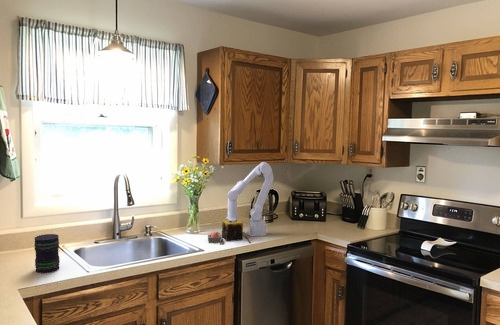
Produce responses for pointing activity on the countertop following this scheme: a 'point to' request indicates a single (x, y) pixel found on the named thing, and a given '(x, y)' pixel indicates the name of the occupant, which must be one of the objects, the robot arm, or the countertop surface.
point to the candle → (232, 230)
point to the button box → (214, 239)
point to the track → (223, 242)
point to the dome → (214, 234)
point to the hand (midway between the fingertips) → (232, 232)
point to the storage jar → (47, 253)
